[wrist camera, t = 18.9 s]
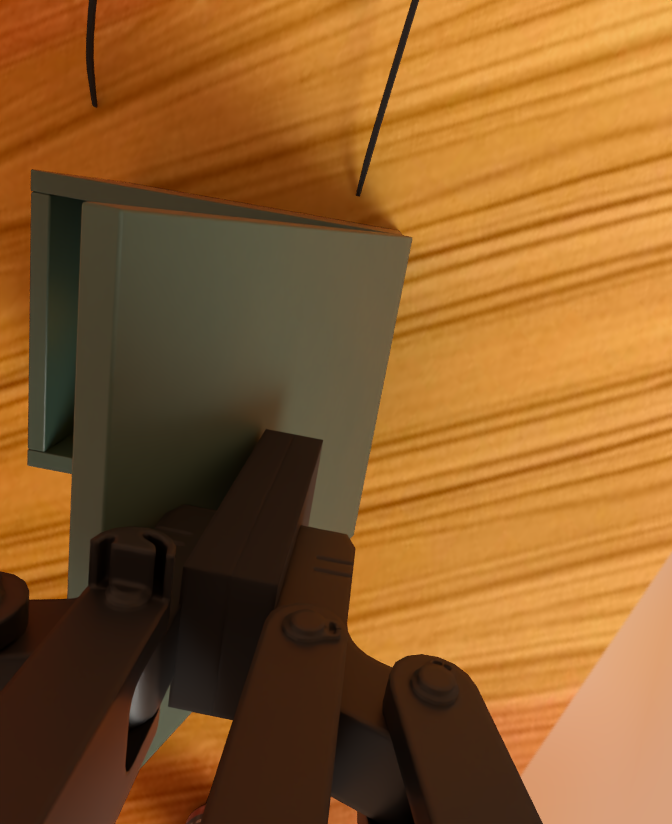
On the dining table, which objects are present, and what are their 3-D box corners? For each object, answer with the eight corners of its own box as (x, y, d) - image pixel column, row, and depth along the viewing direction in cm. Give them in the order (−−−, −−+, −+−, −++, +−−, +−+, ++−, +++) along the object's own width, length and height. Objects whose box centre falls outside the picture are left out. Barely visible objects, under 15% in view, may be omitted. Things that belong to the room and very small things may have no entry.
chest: (111, 408, 36) (26, 465, 28) (124, 182, 32) (30, 169, 24) (356, 454, 36) (346, 527, 27) (399, 230, 32) (402, 235, 23)
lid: (57, 810, 13) (87, 828, 13) (80, 200, 9) (121, 208, 9) (337, 529, 27) (353, 535, 27) (392, 233, 23) (413, 237, 23)
